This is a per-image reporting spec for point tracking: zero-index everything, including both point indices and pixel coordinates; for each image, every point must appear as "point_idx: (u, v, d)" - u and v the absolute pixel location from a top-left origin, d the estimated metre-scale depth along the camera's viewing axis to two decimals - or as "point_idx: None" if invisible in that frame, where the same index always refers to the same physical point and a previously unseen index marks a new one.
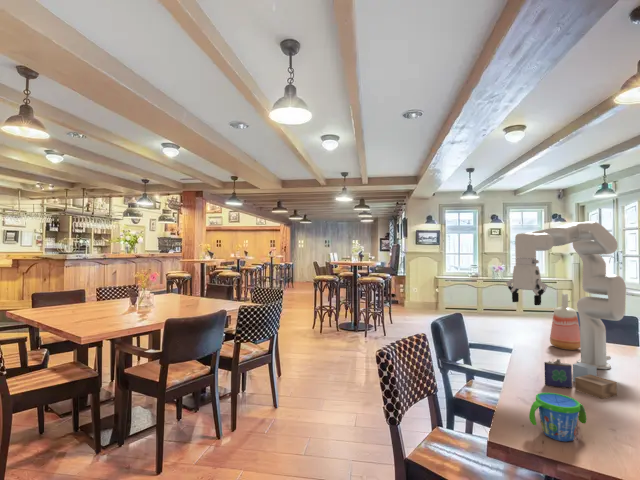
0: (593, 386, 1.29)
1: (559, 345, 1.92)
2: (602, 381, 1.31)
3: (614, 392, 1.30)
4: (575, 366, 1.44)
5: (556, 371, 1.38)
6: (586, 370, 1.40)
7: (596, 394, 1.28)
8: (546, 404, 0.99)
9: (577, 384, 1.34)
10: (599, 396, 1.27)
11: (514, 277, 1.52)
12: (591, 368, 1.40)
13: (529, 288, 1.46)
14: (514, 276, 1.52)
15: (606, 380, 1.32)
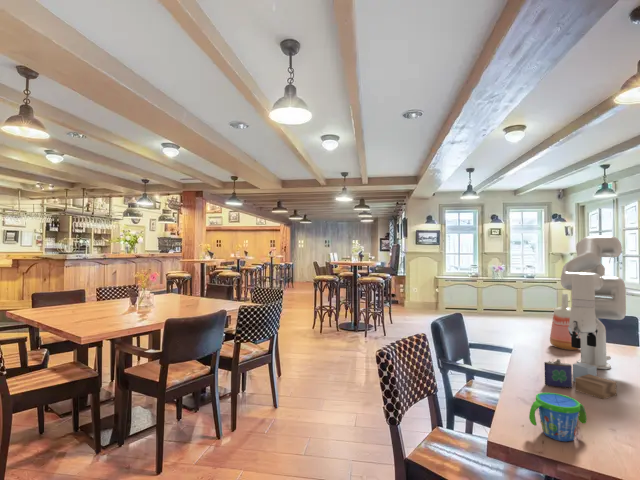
0: (593, 386, 1.29)
1: (559, 345, 1.92)
2: (602, 381, 1.31)
3: (614, 392, 1.30)
4: (575, 366, 1.44)
5: (556, 371, 1.38)
6: (586, 370, 1.40)
7: (597, 394, 1.28)
8: (546, 404, 0.99)
9: (577, 384, 1.34)
10: (600, 396, 1.27)
11: (583, 321, 1.40)
12: (591, 368, 1.40)
13: (593, 331, 1.42)
14: (583, 320, 1.40)
15: (606, 380, 1.32)
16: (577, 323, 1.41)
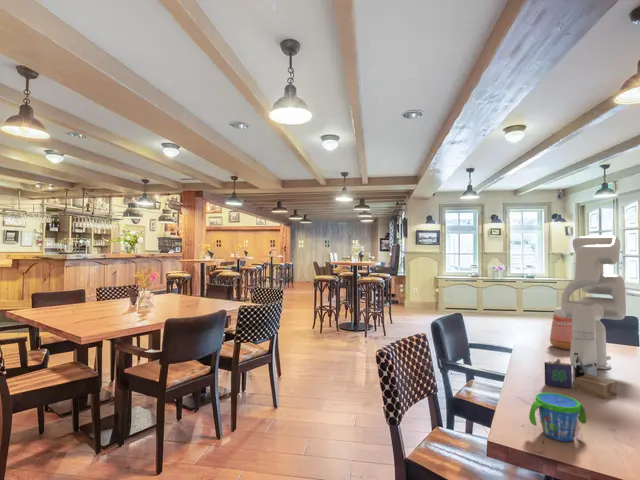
0: (594, 387, 1.29)
1: (559, 345, 1.92)
2: (602, 381, 1.31)
3: (614, 392, 1.30)
4: None
5: (556, 371, 1.38)
6: (586, 370, 1.40)
7: (598, 395, 1.28)
8: (546, 404, 0.99)
9: (578, 385, 1.34)
10: (601, 396, 1.27)
11: (584, 353, 1.40)
12: (591, 368, 1.40)
13: (594, 362, 1.42)
14: (584, 352, 1.40)
15: (605, 380, 1.32)
16: (578, 355, 1.40)
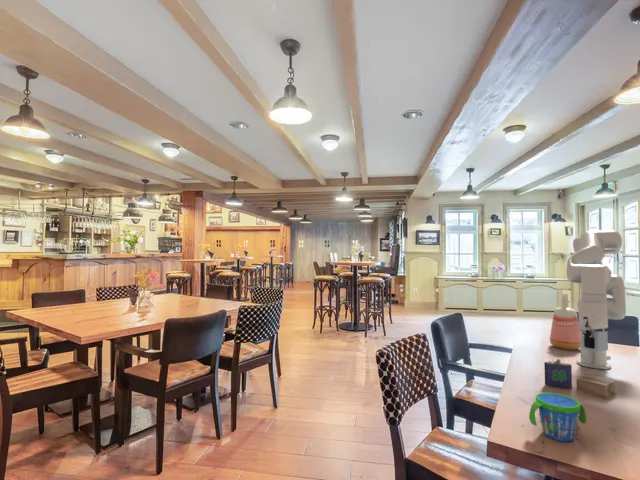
0: (596, 387, 1.29)
1: (559, 345, 1.92)
2: (602, 381, 1.31)
3: (613, 392, 1.31)
4: None
5: (556, 371, 1.38)
6: (596, 334, 1.30)
7: (599, 395, 1.28)
8: (546, 404, 0.99)
9: (578, 385, 1.33)
10: (603, 396, 1.27)
11: (594, 317, 1.30)
12: (602, 332, 1.31)
13: (604, 327, 1.33)
14: (594, 315, 1.30)
15: (605, 379, 1.33)
16: (587, 319, 1.31)
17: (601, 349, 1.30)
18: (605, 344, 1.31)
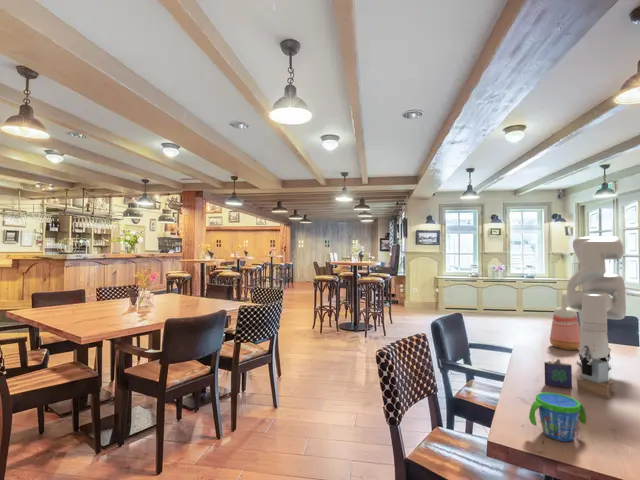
0: (597, 387, 1.29)
1: (559, 345, 1.92)
2: None
3: (613, 391, 1.31)
4: None
5: (556, 371, 1.38)
6: (597, 365, 1.30)
7: (601, 395, 1.28)
8: (546, 404, 0.99)
9: (579, 386, 1.33)
10: (604, 397, 1.27)
11: (595, 346, 1.30)
12: (602, 364, 1.30)
13: (605, 356, 1.32)
14: (595, 345, 1.30)
15: None
16: (588, 348, 1.31)
17: (601, 380, 1.30)
18: (605, 375, 1.31)
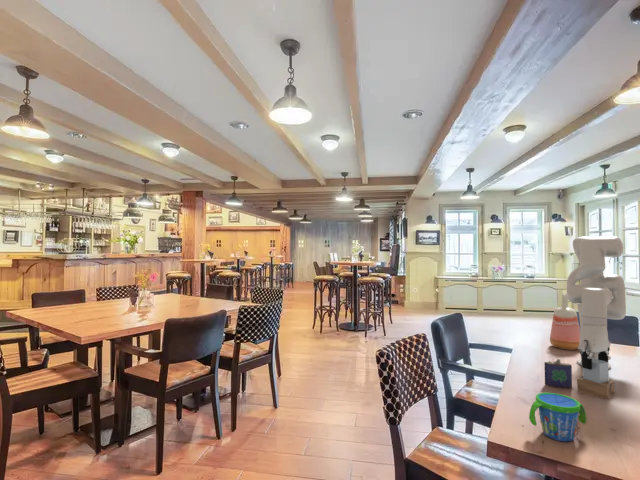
0: (597, 387, 1.29)
1: (559, 345, 1.92)
2: None
3: (613, 391, 1.31)
4: None
5: (556, 371, 1.38)
6: (598, 366, 1.30)
7: (601, 395, 1.28)
8: (546, 404, 0.99)
9: (579, 386, 1.33)
10: (604, 397, 1.27)
11: (595, 340, 1.30)
12: (603, 364, 1.30)
13: (605, 350, 1.33)
14: (595, 339, 1.30)
15: None
16: (588, 342, 1.31)
17: (602, 380, 1.30)
18: (606, 375, 1.31)
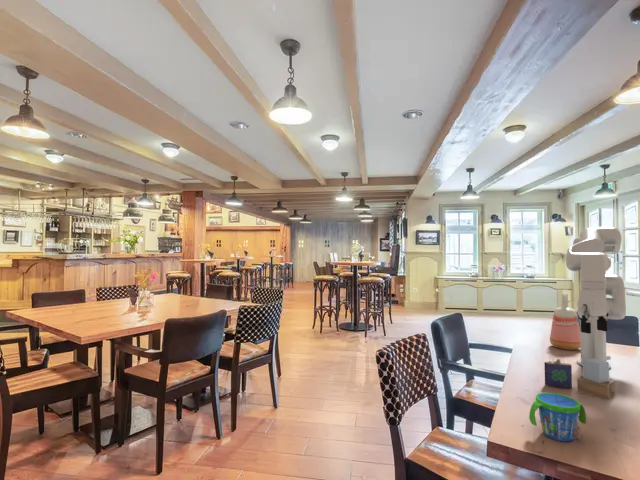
0: (597, 387, 1.29)
1: (559, 345, 1.92)
2: None
3: (613, 391, 1.31)
4: (585, 362, 1.34)
5: (556, 371, 1.38)
6: (597, 365, 1.30)
7: (601, 395, 1.28)
8: (546, 404, 0.99)
9: (579, 386, 1.33)
10: (604, 397, 1.27)
11: (594, 304, 1.31)
12: (603, 364, 1.30)
13: (604, 315, 1.33)
14: (594, 303, 1.31)
15: None
16: (587, 306, 1.32)
17: (602, 380, 1.30)
18: (606, 375, 1.31)
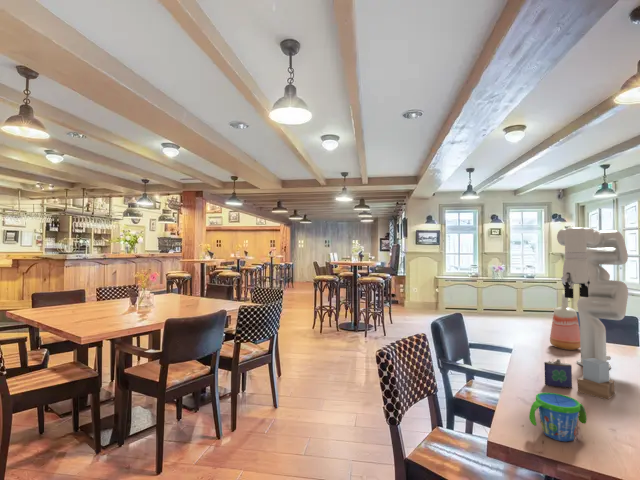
0: (597, 387, 1.29)
1: (559, 345, 1.92)
2: None
3: (613, 391, 1.31)
4: (585, 362, 1.34)
5: (556, 371, 1.38)
6: (597, 366, 1.30)
7: (601, 395, 1.28)
8: (546, 404, 0.99)
9: (579, 386, 1.33)
10: (605, 397, 1.27)
11: (576, 272, 1.47)
12: (603, 364, 1.30)
13: (585, 282, 1.50)
14: (576, 271, 1.47)
15: None
16: (570, 274, 1.48)
17: (602, 380, 1.30)
18: (606, 375, 1.31)
